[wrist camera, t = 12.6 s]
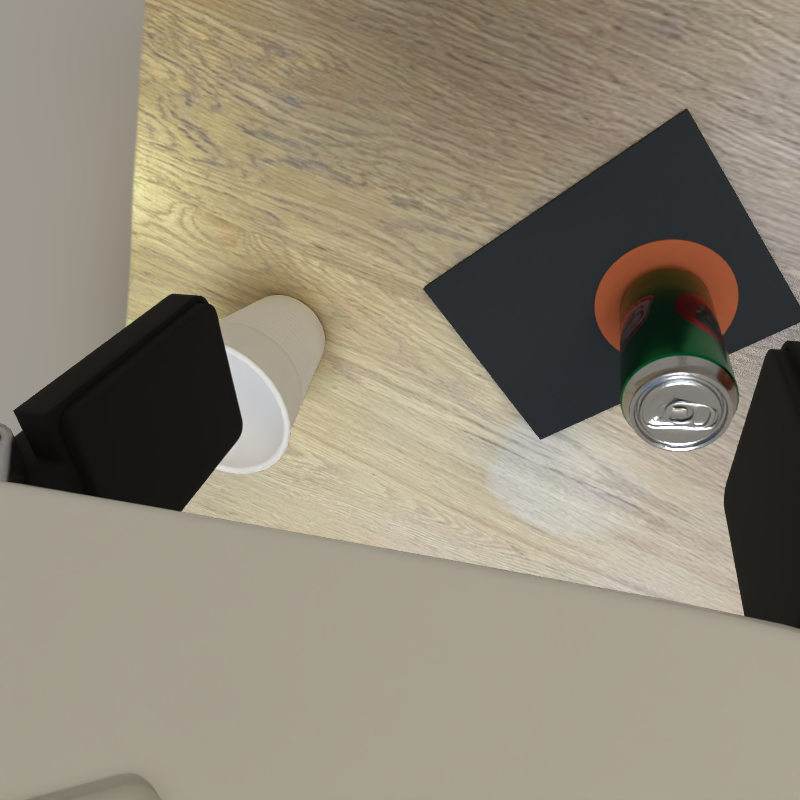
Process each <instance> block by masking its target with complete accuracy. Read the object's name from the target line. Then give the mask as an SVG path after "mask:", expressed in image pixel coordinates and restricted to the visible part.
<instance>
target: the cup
mask: <svg viewBox="0 0 800 800" xmlns="http://www.w3.org/2000/svg"><path fill="white" fill-rule="evenodd" d="M219 324H220V329H221V333H222V337H223V341H224V345H225V349H226V354H227V358H228V362H229V366H230V370H231V375H232V379H233V383H234V387H235V391H236V395H237V400H238V404H239V408H240V412H241V416H242V421H243V429H242V433H241V436H240V438H239V439H238V441H237V442H236V443H235V445H234V446H233V447H232V448H231V450H230V451H229V452H228V453H227V455H226V456H225V457H224V458H223V460H222V461H221V462H220V463H219V465H218V466H217V467H216V468H215V469H216V470H220V471H223V472H228V473H236V474H246V473H255V472H258V471H262V470H265V469H266V468H268V467H270V466H272V465H274V464H275V463H276V462H277V461H278V460H279V459H280V458H281V457H282V456H283V454H284V452H285V450H286V449H287V447H288V443H289V439H290V434H291V432H290V431H291V428H292V426H293V424H294V421H295V419H296V416H297V414H298V412H299V409H300V406H301V404H302V401H303V400H304V397H305V395H306V392H307V389H308V388H309V385H310V383H311V380H312V378H313V376H314V373H315V371H316V368H317V367H318V364H319V362H320V359H321V357H322V355H323V352H324V348H325V334H324V330H323V327H322V325H321V323H320V321H319V319H318V318H317V316H316V315H315V314H314V313H313V311H312V310H311V309H310V308H308V307H307V306H306V305H305V304H303V303H302V302H300V301H299V300H297V299H294V298H292V297H289V296H284V295H272V296H267V297H265V298H262V299H260V300H258V301H256V302H254V303H252V304H250V305H248V306H246V307H245V308H242V309H240V310H238V311H236V312H234V313H232V314H230V315H228V316H226V317H224V318H222V319H220V320H219Z"/></svg>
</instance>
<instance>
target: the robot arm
mask: <svg viewBox="0 0 800 800" xmlns="http://www.w3.org/2000/svg"><path fill="white" fill-rule="evenodd" d="M14 413H15V415H16V417H17V419H18V421H19V423H20V426H21V428H22V430H23V431H21V432H20V433H19V434H18V435H16V436H15V437H14V435H13V433H12V431H11V429H9V428H8V427H7V426H6V425H4V424H0V800H800V342H798V341H786V342H785V343H784V344H783V346H782V348H781V350H777V349H770V350H769V351H768V352H767V354H766V356H765V359H764V362H763V365H762V369H761V372H760V375H759V378H758V382H757V385H756V388H755V391H754V395H753V398H752V401H751V404H750V408H749V411H748V414H747V418H746V421H745V424H744V427H743V431H742V434H741V437H740V440H739V444H738V447H737V450H736V453H735V457H734V460H733V463H732V467H731V470H730V473H729V476H728V480H727V483H726V487H725V493H724V509H725V514H726V519H727V525H728V530H729V535H730V541H731V546H732V552H733V557H734V562H735V568H736V573H737V578H738V584H739V589H740V594H741V600H742V605H743V610H744V616H741V615H736V614H732V613H727V612H722V611H718V610H713V609H708V608H704V607H699V606H694V605H689V604H685V603H680V602H675V601H671V600H665V599H660V598H655V597H649V596H644V595H638V594H633V593H627V592H622V591H617V590H611V589H606V588H600V587H595V586H589V585H584V584H579V583H573V582H568V581H562V580H557V579H551V578H546V577H541V576H535V575H530V574H524V573H519V572H513V571H508V570H503V569H497V568H492V567H486V566H481V565H475V564H470V563H465V562H459V561H453V560H448V559H442V558H437V557H431V556H425V555H420V554H414V553H409V552H403V551H397V550H392V549H386V548H381V547H375V546H369V545H364V544H358V543H353V542H347V541H341V540H336V539H330V538H325V537H319V536H314V535H308V534H302V533H297V532H291V531H286V530H280V529H274V528H269V527H263V526H258V525H252V524H247V523H241V522H235V521H230V520H224V519H219V518H213V517H208V516H202V515H196V514H191V513H185V512H181V511H182V510H183V509H184V507H185V506H186V505H187V504H188V502H189V501H190V500H191V499H192V497H193V496H194V495H195V493H196V492H197V491H198V490H199V488H200V487H201V486H202V485H203V483H204V482H205V481H206V480H207V478H208V477H209V476H210V475H211V473H212V472H213V471H214V470H215V468H216V467H217V466H218V465H219V463H220V462H221V461H222V460H223V458H224V457H225V456H226V455H227V453H228V452H229V451H230V450H231V448H232V447H233V446H234V445H235V443H236V442H237V441H238V439H239V438H240V436H241V433H242V429H243V421H242V416H241V412H240V408H239V404H238V400H237V395H236V391H235V387H234V383H233V379H232V375H231V370H230V366H229V362H228V358H227V354H226V349H225V345H224V341H223V337H222V333H221V329H220V324H219V320H218V316H217V312H216V310H215V308H214V307H213V306H212V305H211V304H209V303H208V302H207V300H206V299H205V298H204V297H202V296H197V295H184V294H171V295H169V296H167V297H166V298H165V299H163V300H162V301H161V302H159V303H158V304H156V305H155V306H154V307H152V308H151V309H150V310H148V311H147V312H146V313H144V314H143V315H142V316H140V317H139V318H138V319H136V320H135V321H134V322H132V323H131V324H129V325H128V326H127V327H125V328H124V329H123V330H121V331H120V332H119V333H117V334H116V335H115V336H113V337H112V338H111V339H109V340H108V341H107V342H105V343H104V344H102V345H101V346H100V347H98V348H97V349H96V350H94V351H93V352H92V353H90V354H89V355H88V356H86V357H85V358H84V359H82V360H81V361H80V362H78V363H77V364H76V365H74V366H73V367H71V368H70V369H69V370H67V371H66V372H65V373H63V374H62V375H61V376H59V377H58V378H57V379H55V380H54V381H53V382H51V383H50V384H49V385H47V386H46V387H45V388H43V389H42V390H40V391H39V392H38V393H36V394H35V395H34V396H32V397H31V398H30V399H28V400H27V401H26V402H24V403H23V404H22V405H20V406H19V407H17V408H16V409H15V410H14Z"/></svg>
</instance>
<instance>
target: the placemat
mask: <svg viewBox="0 0 800 800" xmlns="http://www.w3.org/2000/svg"><path fill="white" fill-rule="evenodd" d="M664 268H676V269H682V270H685V271H688V272H690V273H692V274H694V275H695V276H697V277H698V278H700V279H701V280H702V281H703V283H704V284H705V285H706V287H707V288H708V290H709V293H710V295H711V299H712V302H713V305H714V309H715V312H716V316H717V319H718V322H719V326H720V329H721V332H722V336H723V339H724V342H725V346H726V349H727V352H728V355H729V354H731V353H733V352H735V351H738V350H740V349H742V348H744V347H746V346H749V345H751V344H753V343H755V342H757V341H760V340H762V339H764V338H766V337H768V336H771V335H773V334H775V333H777V332H780V331H782V330H784V329H786V328H788V327H791V326H793V325H795V324H797V323H799V322H800V305H799V304H798V302H797V300H796V298H795V297H794V295H793V293H792V291H791V290H790V288H789V286H788V284H787V283H786V281H785V279H784V277H783V276H782V274H781V272H780V270H779V269H778V267H777V265H776V263H775V262H774V260H773V258H772V256H771V255H770V253H769V251H768V249H767V248H766V246H765V244H764V242H763V241H762V239H761V237H760V235H759V234H758V232H757V230H756V228H755V227H754V225H753V223H752V221H751V220H750V218H749V216H748V214H747V213H746V211H745V209H744V207H743V206H742V204H741V202H740V200H739V199H738V197H737V195H736V193H735V192H734V190H733V188H732V186H731V185H730V183H729V181H728V179H727V178H726V176H725V174H724V172H723V171H722V169H721V167H720V165H719V164H718V162H717V160H716V158H715V157H714V155H713V153H712V151H711V150H710V148H709V146H708V144H707V143H706V141H705V139H704V137H703V136H702V134H701V132H700V130H699V129H698V127H697V125H696V123H695V122H694V120H693V118H692V116H691V115H690V113H689V111H688V109H685V110H684V111H682V112H681V113H679V114H678V115H677V116H675V117H674V118H672V119H671V120H669V121H668V122H666V123H665V124H663V125H662V126H660V127H659V128H657V129H656V130H654V131H653V132H652V133H650V134H649V135H647V136H646V137H644V138H643V139H641V140H640V141H638V142H637V143H635V144H634V145H632V146H631V147H629V148H628V149H627V150H625V151H624V152H622V153H621V154H619V155H618V156H616V157H615V158H613V159H612V160H610V161H609V162H607V163H606V164H604V165H603V166H602V167H600V168H599V169H597V170H596V171H594V172H593V173H591V174H590V175H588V176H587V177H585V178H584V179H582V180H581V181H579V182H578V183H577V184H575V185H574V186H572V187H571V188H569V189H568V190H566V191H565V192H563V193H562V194H560V195H559V196H557V197H556V198H554V199H553V200H551V201H550V202H549V203H547V204H546V205H544V206H543V207H541V208H540V209H538V210H537V211H535V212H534V213H532V214H531V215H529V216H528V217H526V218H525V219H524V220H522V221H521V222H519V223H518V224H516V225H515V226H513V227H512V228H510V229H509V230H507V231H506V232H504V233H503V234H501V235H500V236H499V237H497V238H496V239H494V240H493V241H491V242H490V243H488V244H487V245H485V246H484V247H482V248H481V249H479V250H478V251H476V252H475V253H474V254H472V255H471V256H469V257H468V258H466V259H465V260H463V261H462V262H460V263H459V264H457V265H456V266H454V267H453V268H451V269H450V270H448V271H447V272H446V273H444V274H443V275H441V276H440V277H438V278H437V279H435V280H434V281H432V282H431V283H429V284H428V285H426V286H425V287H424V290H425V292H426V293H427V294H428V296H429V297H430V298H431V299H432V301H433V302H434V303H435V305H436V306H437V307H438V308H439V310H440V311H441V312H442V314H443V315H444V316H445V317H446V319H447V320H448V321H449V323H450V324H451V325H452V326H453V328H454V329H455V330H456V332H457V333H458V334H459V335H460V337H461V338H462V339H463V341H464V342H465V343H466V344H467V346H468V347H469V348H470V350H471V351H472V352H473V353H474V355H475V356H476V357H477V359H478V360H479V361H480V363H481V364H482V365H483V366H484V368H485V369H486V370H487V372H488V373H489V374H490V375H491V377H492V378H493V379H494V381H495V382H496V383H497V384H498V386H499V387H500V388H501V390H502V391H503V392H504V393H505V395H506V396H507V397H508V399H509V400H510V401H511V402H512V404H513V405H514V406H515V408H516V409H517V410H518V411H519V413H520V414H521V415H522V417H523V418H524V419H525V420H526V422H527V423H528V424H529V426H530V427H531V428H532V429H533V431H534V432H535V433H536V435H537V436H538V437H539V439H540V440H541V439H543V438H545V437H547V436H550V435H552V434H554V433H556V432H558V431H561V430H563V429H565V428H567V427H569V426H572V425H574V424H576V423H578V422H581V421H583V420H585V419H587V418H589V417H592V416H594V415H596V414H598V413H600V412H603V411H605V410H607V409H609V408H611V407H614V406H616V405H618V404H620V403H621V402H620V313H619V310H620V303H621V299H622V297H623V295H624V293H625V291H626V290H627V288H628V287H629V286H630V285H631V284H632V283H633V282H634V281H635V280H636V279H637V278H639V277H640V276H642V275H644V274H646V273H648V272H651V271H654V270H657V269H664Z"/></svg>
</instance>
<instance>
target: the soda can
mask: <svg viewBox="0 0 800 800" xmlns="http://www.w3.org/2000/svg"><path fill="white" fill-rule="evenodd" d="M619 313H620V402H621V409H622V413H623V415H624V417H625V419H626V421H627V422H628V424H629V425H630V426H631V427H632V428H633V429H634V430H635V432H636V433H637V434H638V436H639V437H640V438H641V439H643V440H644V441H645V442H647V443H648V444H650V445H652V446H654V447H657V448H659V449H663V450H667V451H676V452H682V451H691V450H696V449H699V448H702V447H705V446H707V445H709V444H711V443H712V442H714V441H715V440H717V439H718V438H719V437H720V436H721V435H722V434H723V433H724V432H725V431H726V429H727V428H728V426H729V424H730V422H731V420H732V418H733V416H734V414H735V412H736V410H737V407H738V403H739V391H738V386H737V383H736V379H735V376H734V373H733V369H732V366H731V363H730V359H729V356H728V352H727V349H726V346H725V342H724V339H723V336H722V332H721V329H720V326H719V322H718V319H717V316H716V312H715V309H714V305H713V302H712V299H711V295H710V293H709V290H708V288H707V287H706V285H705V284H704V283H703V281H702V280H701V279H700V278H698V277H697V276H695V275H694V274H692V273H690V272H688V271H685V270H682V269H676V268H664V269H657V270H654V271H651V272H648V273H646V274H644V275H642V276H640V277H639V278H637V279H636V280H635V281H634V282H633V283H632V284H631V285H630V286H629V287H628V288H627V290H626V291H625V293H624V295H623V297H622V299H621V303H620V310H619Z"/></svg>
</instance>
